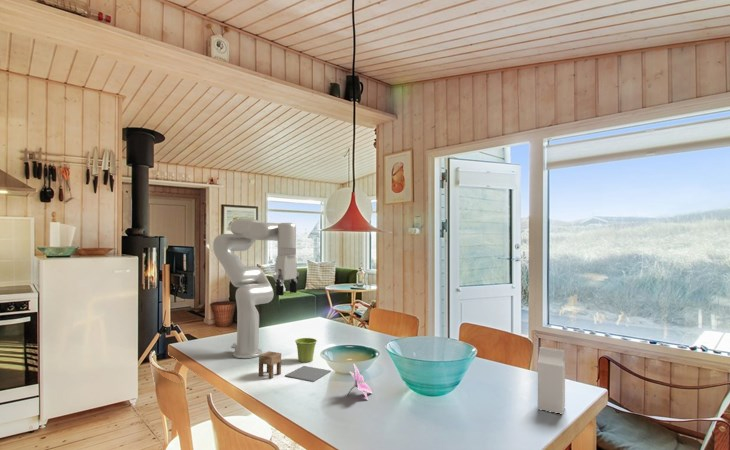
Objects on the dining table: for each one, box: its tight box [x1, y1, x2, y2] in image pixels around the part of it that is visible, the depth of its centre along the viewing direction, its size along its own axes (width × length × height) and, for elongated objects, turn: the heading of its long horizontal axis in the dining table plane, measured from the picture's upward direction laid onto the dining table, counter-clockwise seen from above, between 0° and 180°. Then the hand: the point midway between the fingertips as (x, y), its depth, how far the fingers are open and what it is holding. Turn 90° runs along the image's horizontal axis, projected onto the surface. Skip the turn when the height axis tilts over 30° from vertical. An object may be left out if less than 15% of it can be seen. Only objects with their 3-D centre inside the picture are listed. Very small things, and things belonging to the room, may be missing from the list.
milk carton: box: [537, 346, 566, 415], centre depth 129 cm, size 7×7×19 cm
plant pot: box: [294, 337, 318, 363], centre depth 175 cm, size 9×9×9 cm
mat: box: [284, 365, 332, 383], centre depth 158 cm, size 13×13×1 cm
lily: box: [346, 363, 373, 401], centre depth 137 cm, size 12×12×10 cm
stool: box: [258, 350, 282, 380], centre depth 156 cm, size 6×6×8 cm
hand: (286, 293), depth 167 cm, fingers open, 9 cm apart
